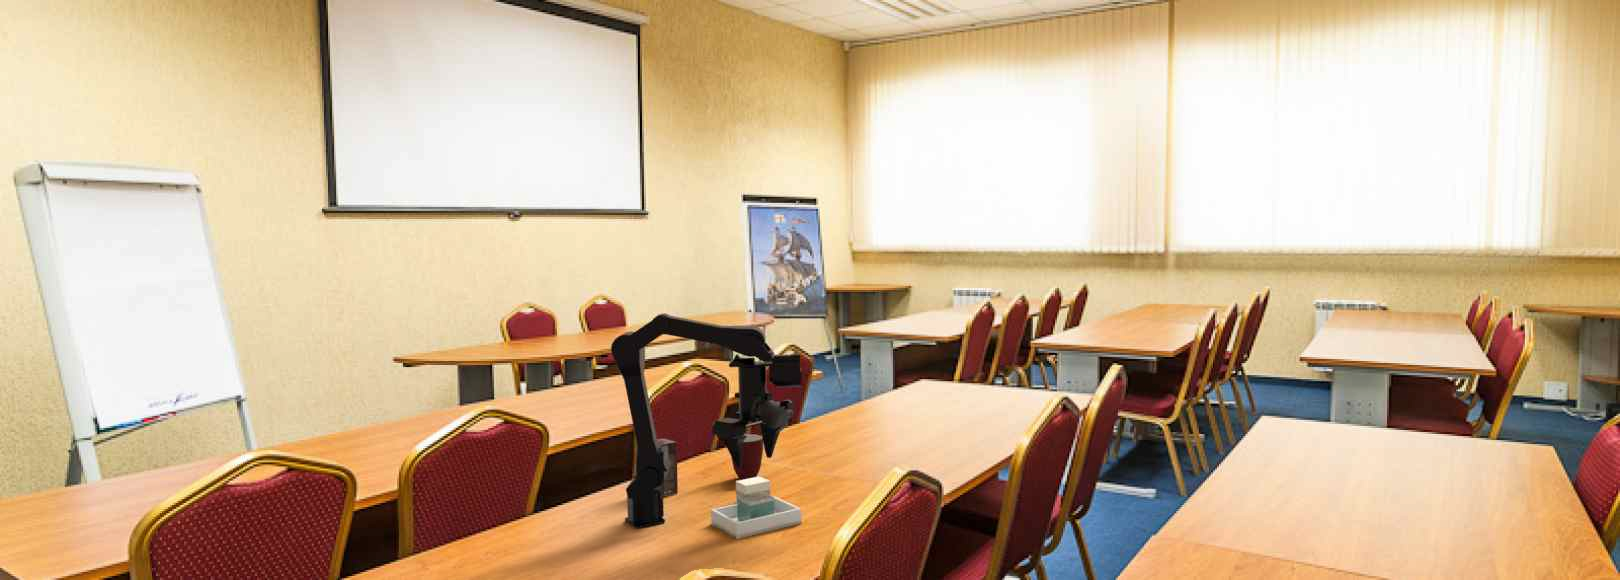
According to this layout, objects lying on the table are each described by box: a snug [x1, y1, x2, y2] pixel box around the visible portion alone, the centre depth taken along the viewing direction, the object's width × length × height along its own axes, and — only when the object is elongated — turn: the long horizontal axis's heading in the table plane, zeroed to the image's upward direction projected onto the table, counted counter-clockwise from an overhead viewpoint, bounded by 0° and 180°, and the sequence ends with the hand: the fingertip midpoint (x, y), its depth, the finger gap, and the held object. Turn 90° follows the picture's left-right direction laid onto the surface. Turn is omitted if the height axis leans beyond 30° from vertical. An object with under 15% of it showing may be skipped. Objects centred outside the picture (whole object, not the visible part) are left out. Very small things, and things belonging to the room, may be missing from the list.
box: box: [656, 437, 679, 497], centre depth 204 cm, size 6×4×12 cm
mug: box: [730, 433, 764, 480], centre depth 212 cm, size 10×8×10 cm
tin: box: [735, 491, 775, 521], centre depth 180 cm, size 6×6×5 cm
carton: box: [735, 476, 771, 504], centre depth 195 cm, size 6×4×5 cm
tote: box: [710, 495, 803, 540], centre depth 181 cm, size 15×11×3 cm
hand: (754, 462), depth 183 cm, fingers open, 9 cm apart
